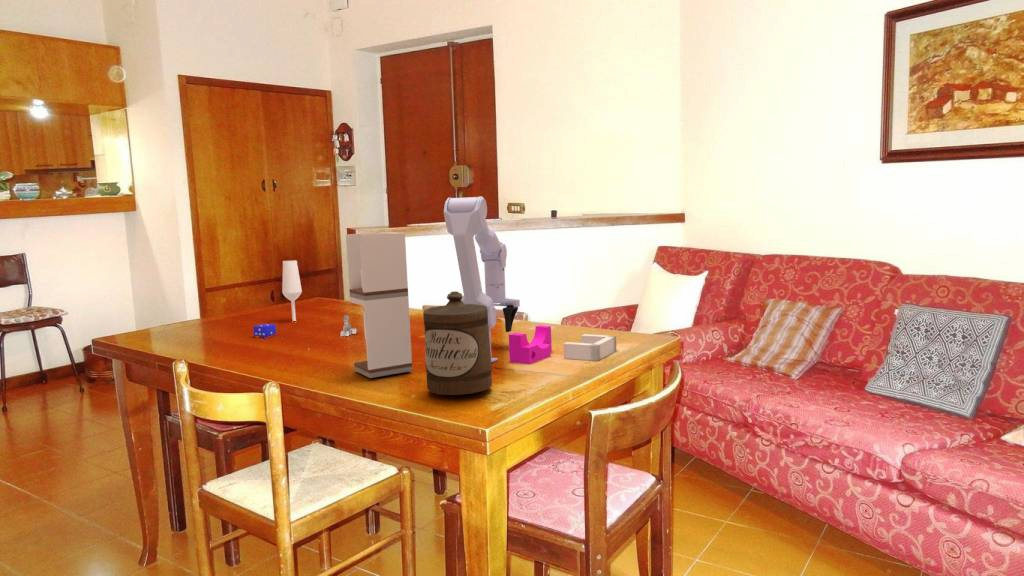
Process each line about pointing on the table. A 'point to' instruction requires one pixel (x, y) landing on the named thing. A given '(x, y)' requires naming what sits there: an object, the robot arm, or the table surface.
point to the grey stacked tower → (381, 300)
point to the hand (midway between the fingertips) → (496, 330)
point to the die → (264, 330)
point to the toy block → (530, 346)
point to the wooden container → (457, 347)
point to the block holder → (590, 347)
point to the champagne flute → (291, 283)
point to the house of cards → (347, 328)
